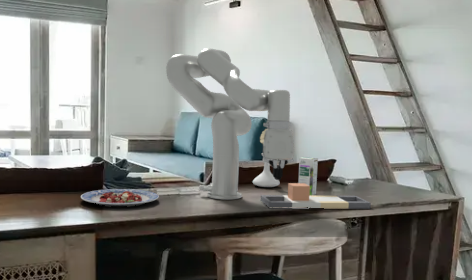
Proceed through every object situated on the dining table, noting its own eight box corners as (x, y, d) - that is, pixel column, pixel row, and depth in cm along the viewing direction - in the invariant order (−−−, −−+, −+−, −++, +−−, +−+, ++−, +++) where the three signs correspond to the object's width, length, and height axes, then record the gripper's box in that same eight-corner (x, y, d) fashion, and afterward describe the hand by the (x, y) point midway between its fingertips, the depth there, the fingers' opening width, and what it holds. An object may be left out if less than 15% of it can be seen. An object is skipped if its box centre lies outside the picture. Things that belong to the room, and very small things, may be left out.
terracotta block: (292, 200, 181) (292, 186, 180) (287, 197, 187) (288, 183, 186) (309, 200, 182) (309, 186, 181) (304, 197, 188) (304, 183, 187)
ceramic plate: (77, 196, 186) (77, 187, 186) (150, 193, 195) (150, 185, 195) (84, 212, 162) (84, 202, 162) (166, 208, 171) (166, 199, 171)
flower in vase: (248, 184, 223) (251, 125, 221) (273, 184, 227) (276, 126, 225) (259, 189, 211) (261, 127, 209) (285, 189, 214) (288, 128, 212)
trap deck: (268, 208, 176) (269, 202, 176) (260, 200, 189) (260, 195, 189) (370, 208, 182) (370, 202, 182) (355, 201, 195) (355, 195, 195)
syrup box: (297, 195, 203) (298, 157, 202) (302, 192, 208) (304, 156, 207) (311, 196, 200) (313, 158, 199) (316, 194, 205) (318, 157, 204)
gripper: (259, 126, 176) (258, 181, 177) (302, 126, 178) (301, 180, 179) (254, 125, 183) (254, 178, 184) (296, 125, 186) (295, 177, 187)
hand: (277, 179), depth 182 cm, fingers closed
